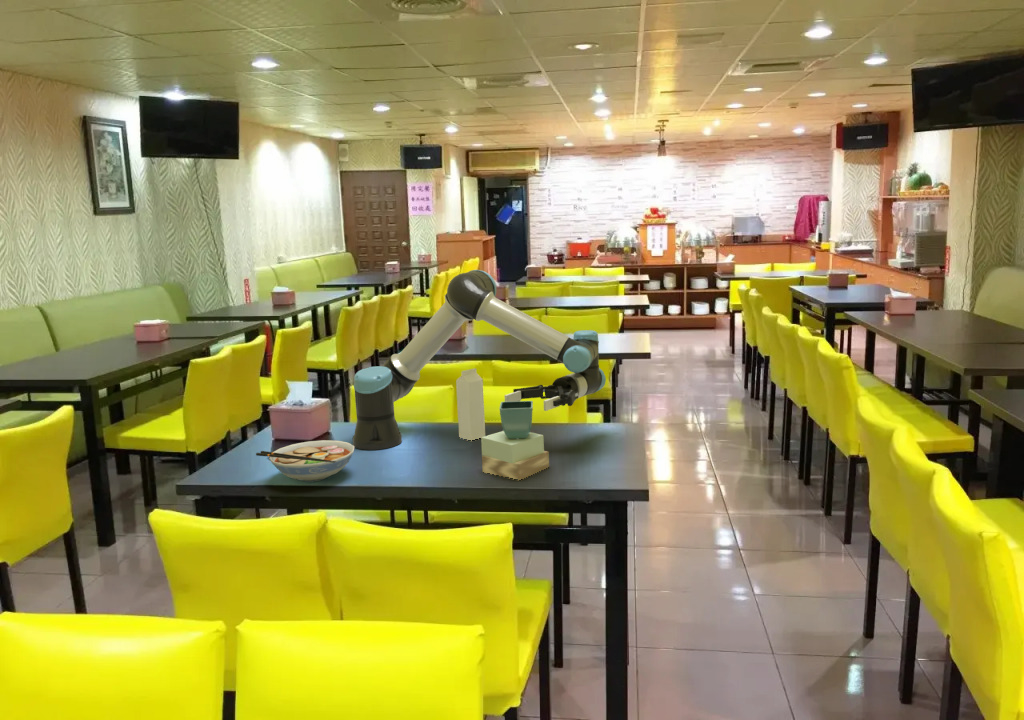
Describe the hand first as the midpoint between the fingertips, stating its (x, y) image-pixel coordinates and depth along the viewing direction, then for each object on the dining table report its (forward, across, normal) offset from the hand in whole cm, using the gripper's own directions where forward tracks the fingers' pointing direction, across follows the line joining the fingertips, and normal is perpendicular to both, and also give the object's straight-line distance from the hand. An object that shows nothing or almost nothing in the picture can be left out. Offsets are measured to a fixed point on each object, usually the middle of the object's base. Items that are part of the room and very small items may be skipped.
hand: (524, 403), depth 214 cm
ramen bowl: (+40, +43, -18) cm, 61 cm away
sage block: (+5, +1, -13) cm, 14 cm away
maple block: (+5, 0, -18) cm, 19 cm away
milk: (-12, +32, -18) cm, 38 cm away
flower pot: (+5, -1, -8) cm, 10 cm away
